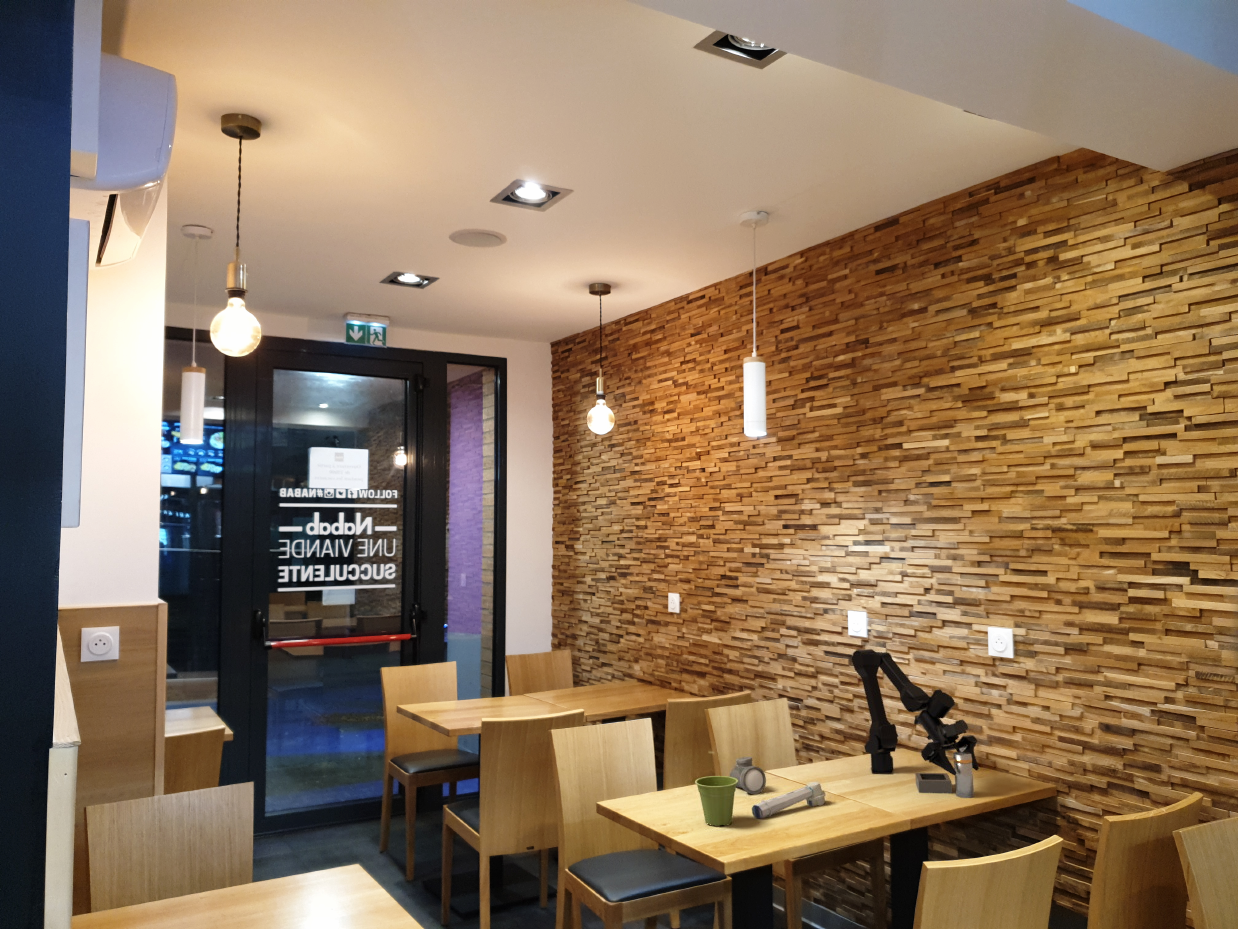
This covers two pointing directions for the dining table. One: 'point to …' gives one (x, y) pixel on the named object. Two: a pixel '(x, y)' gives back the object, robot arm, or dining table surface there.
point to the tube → (963, 774)
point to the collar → (933, 783)
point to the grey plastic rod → (790, 800)
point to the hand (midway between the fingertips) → (966, 772)
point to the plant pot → (717, 798)
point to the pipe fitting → (748, 776)
